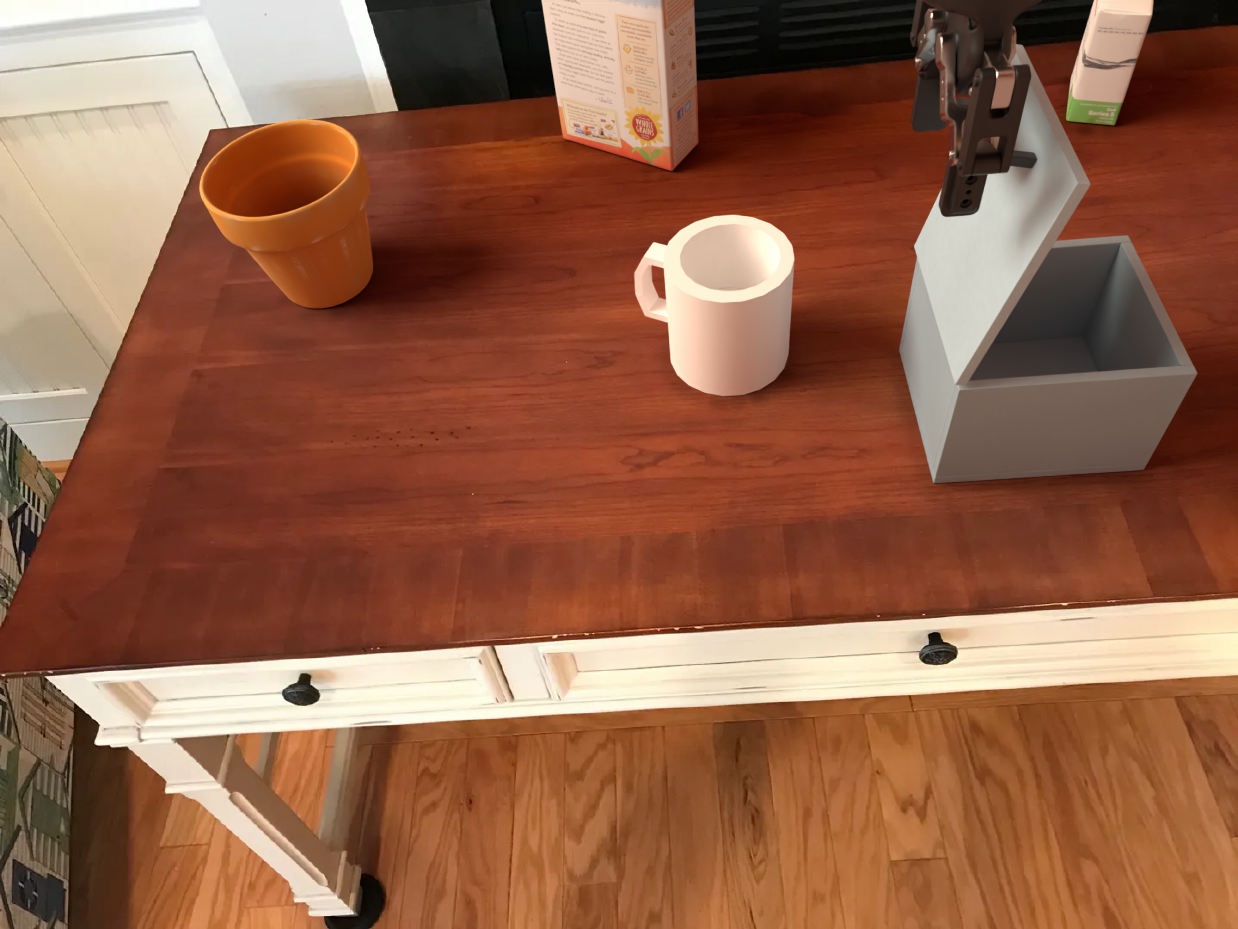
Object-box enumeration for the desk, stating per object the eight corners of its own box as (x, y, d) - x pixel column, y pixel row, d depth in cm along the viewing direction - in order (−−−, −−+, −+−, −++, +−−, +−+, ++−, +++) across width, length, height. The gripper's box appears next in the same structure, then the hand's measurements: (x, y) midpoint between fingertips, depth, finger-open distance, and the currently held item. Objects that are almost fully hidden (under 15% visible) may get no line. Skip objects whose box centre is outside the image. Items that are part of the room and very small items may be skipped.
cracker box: (701, 143, 103) (695, -62, 87) (671, 175, 101) (660, -30, 84) (592, 110, 109) (566, -88, 92) (561, 139, 106) (529, -59, 89)
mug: (615, 365, 85) (602, 272, 77) (665, 289, 90) (658, 194, 82) (761, 410, 81) (764, 316, 72) (805, 328, 86) (813, 231, 77)
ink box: (1115, 127, 99) (1155, 14, 89) (1063, 121, 100) (1097, 9, 91) (1120, 80, 103) (1158, -33, 94) (1070, 75, 105) (1102, -36, 95)
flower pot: (235, 329, 93) (173, 219, 82) (282, 230, 101) (230, 119, 91) (379, 331, 91) (334, 218, 80) (414, 230, 99) (377, 116, 89)
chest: (1087, 336, 82) (1128, 234, 74) (1143, 470, 74) (1197, 373, 65) (898, 349, 83) (917, 251, 75) (933, 483, 75) (959, 389, 66)
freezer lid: (1022, 44, 62) (944, 34, 61) (1091, 184, 53) (1000, 174, 52) (923, 247, 74) (857, 240, 74) (965, 386, 66) (891, 379, 65)
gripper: (1125, -51, 43) (1035, 239, 56) (1037, -180, 52) (976, 97, 65) (951, -34, 44) (901, 250, 56) (893, -165, 52) (861, 107, 65)
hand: (941, 168), depth 60 cm, fingers open, 8 cm apart
